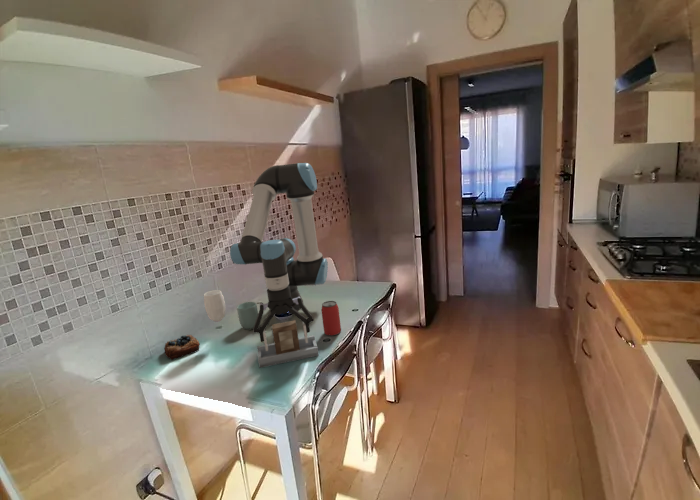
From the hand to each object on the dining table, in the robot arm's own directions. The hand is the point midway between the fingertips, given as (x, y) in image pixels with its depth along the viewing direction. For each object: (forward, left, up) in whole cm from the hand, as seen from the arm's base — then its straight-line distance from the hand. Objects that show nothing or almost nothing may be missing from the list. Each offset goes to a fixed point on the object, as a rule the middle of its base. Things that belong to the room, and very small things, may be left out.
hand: (286, 345), depth 128 cm
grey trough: (0, 0, -4) cm, 4 cm away
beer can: (+8, +20, -5) cm, 22 cm away
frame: (0, 0, -3) cm, 3 cm away
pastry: (-44, -4, -5) cm, 44 cm away
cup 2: (-29, +18, -5) cm, 34 cm away
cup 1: (-32, +4, -5) cm, 33 cm away
